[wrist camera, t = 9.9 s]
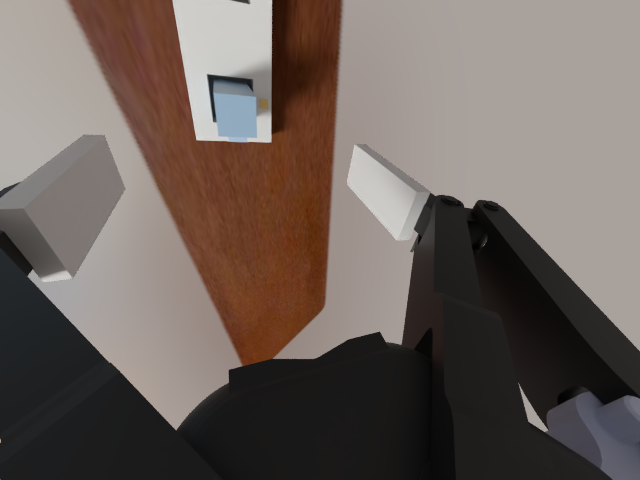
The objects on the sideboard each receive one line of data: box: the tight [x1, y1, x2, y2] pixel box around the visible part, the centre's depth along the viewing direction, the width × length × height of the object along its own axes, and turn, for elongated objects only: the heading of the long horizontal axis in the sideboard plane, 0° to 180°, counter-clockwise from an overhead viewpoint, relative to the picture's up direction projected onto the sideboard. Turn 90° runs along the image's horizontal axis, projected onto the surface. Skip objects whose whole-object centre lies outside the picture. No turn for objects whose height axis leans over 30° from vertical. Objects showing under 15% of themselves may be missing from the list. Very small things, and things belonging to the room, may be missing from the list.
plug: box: [213, 79, 257, 142], centre depth 27 cm, size 4×4×10 cm
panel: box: [173, 0, 272, 142], centre depth 26 cm, size 20×9×3 cm, turn 173°
